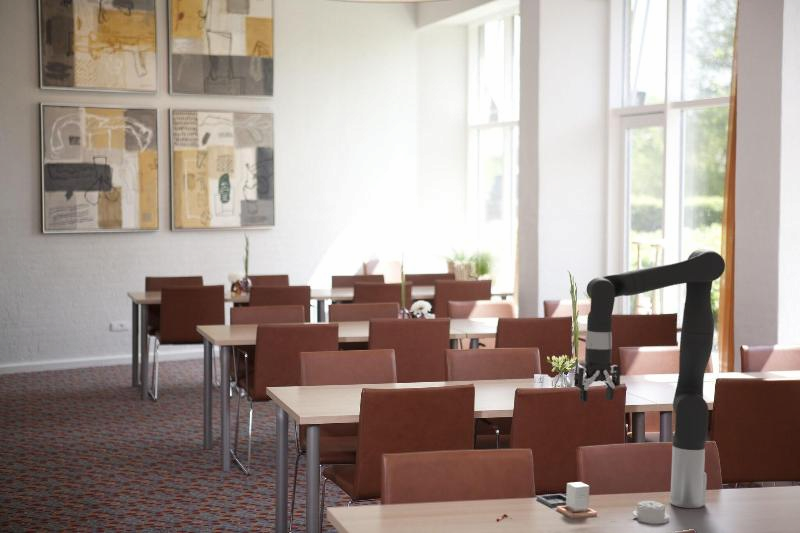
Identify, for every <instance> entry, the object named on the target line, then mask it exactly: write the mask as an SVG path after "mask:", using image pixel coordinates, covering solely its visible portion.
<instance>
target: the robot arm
mask: <svg viewBox="0 0 800 533" xmlns="http://www.w3.org/2000/svg"><path fill="white" fill-rule="evenodd" d="M725 269H726V262H725V260H724V258H723V256H722V255H721V254H720V253H718V252H716V251H715V250H710V249H704V248H702V249H701V248H700V249H696V250H694V251H693V252H692V253H691V254H689V256H688V257H687V259H685V260H682V261H678V262H674V263H670V264H662V265H661V264H660V265H655V266H647V267H643V268H637V269H633V270H629V271H626V272H622V273H617V274H609V275H604V276H599V277H595V278H593V279H592V280H590V281H588V283H587V285H586V295H587V296H588V297H589V298H590V308H589V309H590V310H589V312H588V314H587V318H586V320H587V321H586V322H587V323H586V336H585V347H584V348H585V351H584V353H585V354H584V362H585V366H584V367H581V366H576V367H575V373H574V383H573V386H574V387H575V388H578V389H579V392H580V393H579V400H580V401H581V402H582V403H584V404H587V403H588V398H589V397H588V396H589V390H588V389H589V387H590V386H591V385H592V384H593V383H594V382H595V383H596V382H603V383H604V384H605V385H606V388H605V400H606V401H607V402H612V401H613V400H614V394H615V393H614V390H615V388H616V387H619V386H620V385H621V369H620V368H621V367H620V366H619V365H616V364H613V365H611V363H612V352H613V349H612V348H613V337H612V336H613V335H612V334H613V333H612V328H613V327H612V326H613V325H612V324H613V323H612V322H613V320H612V318H613V311H614V306H615V299H616V298H617V297H622V296H623V297H625V296H626V297H628V296H629V297H630V296H635V295H639V294H643V293H647V292H648V293H649V292H652V291H655V290H656V291H657V290H659V289H663V288H667V287H671V286H677V285H682V284H685V286H686V287H685V301H684V308H683V316H682V323H681V331H680V338H679V339H680V340H679V357H678V362H679V364H678V366H679V367H678V368H679V369H678V378H677V381H676V382H677V383H676V388H675V392H674V397H673V401H672V408H673V409H672V410H673V412H674V415H675V423H674V424H675V426H674V434H673V436H672V450H671V452H672V453H671V476H670V477H671V478H670V497H669V500H670V501H669V502H670V504H671V505H673V506H674V507H675V506H676V507H679V508H685V509H698V508H702V507H703V506H706V497H707V495H706V494H707V479H708V478H707V477H708V475H707V473H706V472H705V463H706V462H705V459H706V458H705V457H706V441H707V439H708V432H709V431H708V429H709V412H710V411H709V406H708V403H707V401H706V400H705V399H704V380H705V374H706V371H707V367H708V365H709V364H708V363H709V361H710V357H711V354H712V352H713V351H712V350H713V345H714V334H715V322H714V320H715V319H714V313H713V306H712V300H711V296H712V288H713V281H716V280H719V278H722V276H723V274H724V272H725ZM610 373H611V376H610V375H609V374H610Z"/></svg>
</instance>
